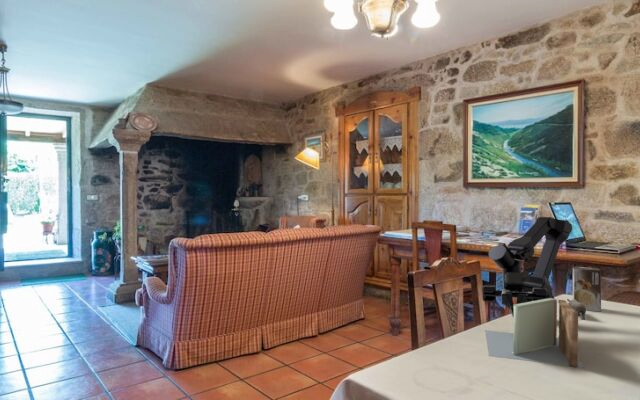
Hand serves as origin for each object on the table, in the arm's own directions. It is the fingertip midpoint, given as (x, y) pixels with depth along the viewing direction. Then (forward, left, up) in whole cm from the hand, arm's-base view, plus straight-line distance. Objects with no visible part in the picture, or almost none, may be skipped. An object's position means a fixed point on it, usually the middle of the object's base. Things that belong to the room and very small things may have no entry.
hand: (515, 319), depth 125 cm
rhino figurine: (-6, +44, -7) cm, 45 cm away
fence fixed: (+15, 0, -6) cm, 16 cm away
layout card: (+6, -2, -7) cm, 9 cm away
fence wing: (+8, -2, -6) cm, 10 cm away
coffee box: (-9, +58, -7) cm, 59 cm away
